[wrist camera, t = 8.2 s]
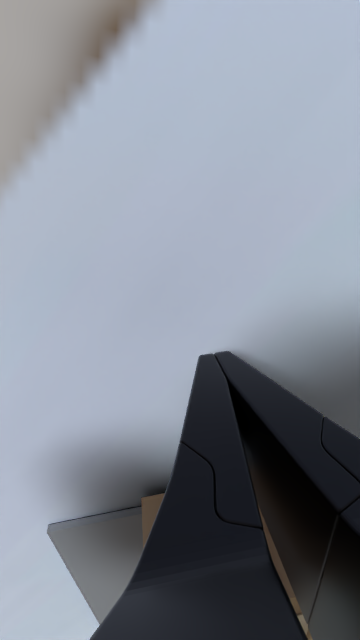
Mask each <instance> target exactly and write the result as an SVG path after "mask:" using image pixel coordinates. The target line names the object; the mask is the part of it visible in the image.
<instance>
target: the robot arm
mask: <svg viewBox="0 0 360 640" xmlns="http://www.w3.org/2000/svg"><path fill="white" fill-rule="evenodd" d="M257 503H258V504H257ZM258 505H259V508H260V510H261V513H262V515H263V518H264V520H265V523H266V525H267V528H268V530H269V532H270V535H271V537H272V540H273V542H274V545H275V547H276V550H277V552H278V555H279V557H280V560H281V562H282V565H283V567H284V570H285V572H286V574H287V577H288V579H289V582H290V584H291V587H292V589H293V592H294V594H295V597H296V599H297V602H298V604H299V607H300V609H301V612H302V614H303V616H304V619H305V621H306V623H307V624H308V629H309V632H310V634H311V637H312V639H313V640H360V439H359V438H358V437H356V436H354V435H353V434H351V433H350V432H348V431H347V430H345V429H344V428H342V427H341V426H339V425H337V424H336V423H335V422H333V421H332V420H330V419H329V418H327V417H324V418H323V415H322V414H321V413H320V412H318V411H317V410H315V409H314V408H312V407H311V406H309V405H308V404H306V403H305V402H303V401H302V400H300V399H299V398H297V397H296V396H294V395H293V394H291V393H290V392H289V391H287V390H286V389H284V388H283V387H281V386H280V385H278V384H277V383H275V382H274V381H272V380H271V379H269V378H268V377H266V376H265V375H263V374H262V373H260V372H259V371H257V370H256V369H255V368H253V367H252V366H250V365H249V364H247V363H246V362H244V361H243V360H241V359H240V358H238V357H237V356H235V355H234V354H232V353H231V352H229V351H224V352H218V353H215V354H205V355H200V356H199V358H198V363H197V367H196V372H195V376H194V380H193V385H192V389H191V394H190V398H189V403H188V407H187V411H186V416H185V420H184V425H183V429H182V434H181V438H180V444H179V446H178V450H177V455H176V459H175V463H174V466H173V470H172V474H171V477H170V480H169V483H168V486H167V489H166V491H165V494H164V497H163V500H162V502H161V505H160V508H159V510H158V513H157V515H156V518H155V521H154V523H153V526H152V528H151V531H150V533H149V536H148V539H147V541H146V544H145V546H144V549H143V551H142V554H141V556H140V559H139V561H138V564H137V566H136V568H135V570H134V573H133V575H132V577H131V579H130V581H129V583H128V585H127V586H126V588H125V590H124V592H123V593H122V595H121V596H120V598H119V599H118V601H117V602H116V603H115V605H114V606H113V608H112V609H111V610H110V612H109V613H108V615H107V616H106V617H105V619H104V620H103V621H102V623H101V624H100V626H99V627H98V628H97V630H96V631H95V633H94V634H93V635H92V637H91V638H90V640H308V638H307V636H306V634H305V632H304V630H303V627H302V625H301V623H300V621H299V619H298V616H297V614H296V612H295V610H294V608H293V605H292V603H291V601H290V599H289V597H288V594H287V592H286V590H285V588H284V586H283V583H282V581H281V579H280V577H279V575H278V572H277V570H276V568H275V565H274V563H273V560H272V557H271V554H270V551H269V547H268V544H267V540H266V536H265V533H264V528H263V524H262V520H261V516H260V512H259V508H258Z"/></svg>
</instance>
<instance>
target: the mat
mask: <svg viewBox="0 0 360 640" xmlns="http://www.w3.org/2000/svg"><path fill="white" fill-rule="evenodd" d="M47 534H48V535H49V537H50V539H51V541H52V542H53V544H54V546H55V548H56V549H57V551H58V553H59V554H60V556H61V558H62V560H63V561H64V563H65V565H66V567H67V568H68V570H69V572H70V574H71V575H72V577H73V579H74V581H75V582H76V584H77V586H78V588H79V589H80V591H81V593H82V595H83V596H84V598H85V600H86V602H87V603H88V605H89V607H90V608H91V610H92V612H93V614H94V615H95V617H96V619H97V621H98V622H99V624H101V623H102V621H103V620H104V619H105V617H106V616H107V615H108V613H109V612H110V610H111V609H112V608H113V606H114V605H115V603H116V602H117V601H118V599H119V598H120V596H121V595H122V593H123V592H124V590H125V588H126V586H127V585H128V583H129V581H130V579H131V577H132V575H133V573H134V570H135V568H136V566H137V564H138V561H139V559H140V556H141V554H142V551H143V529H142V506H141V507H136V508H131V509H126V510H121V511H116V512H111V513H106V514H101V515H96V516H91V517H86V518H81V519H75V520H70V521H65V522H60V523H55V524H50V525H48V530H47Z"/></svg>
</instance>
